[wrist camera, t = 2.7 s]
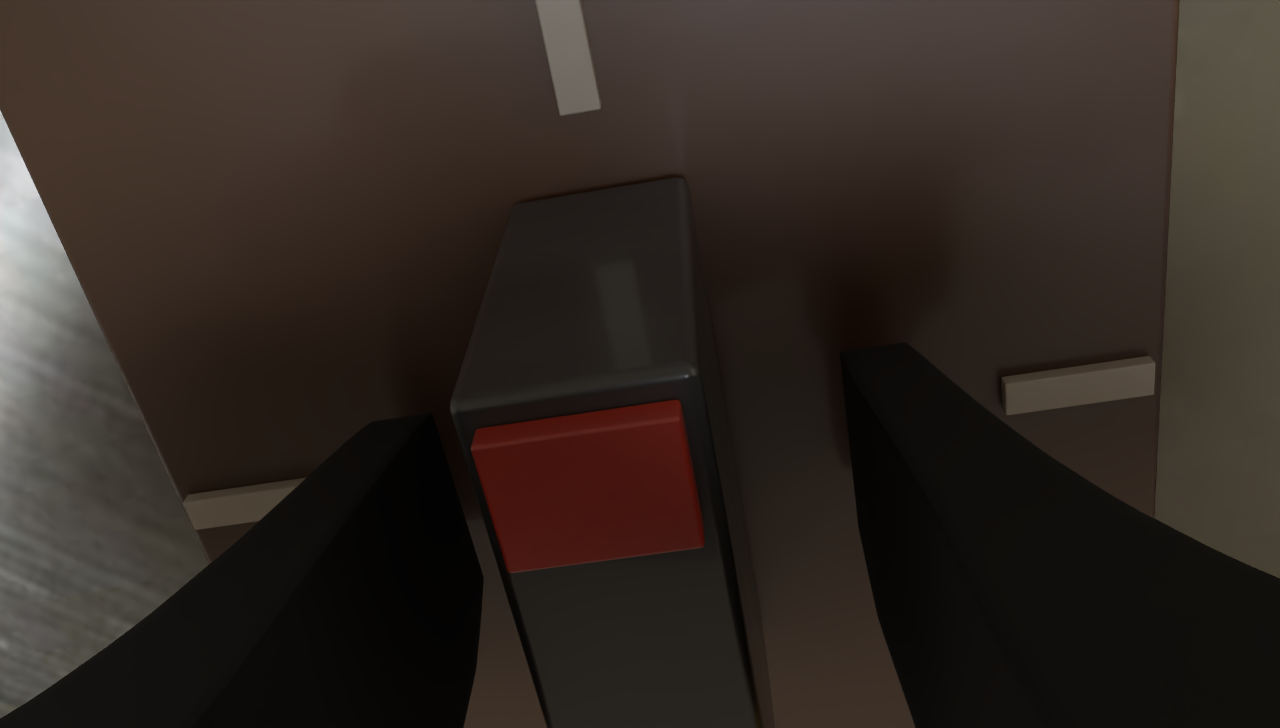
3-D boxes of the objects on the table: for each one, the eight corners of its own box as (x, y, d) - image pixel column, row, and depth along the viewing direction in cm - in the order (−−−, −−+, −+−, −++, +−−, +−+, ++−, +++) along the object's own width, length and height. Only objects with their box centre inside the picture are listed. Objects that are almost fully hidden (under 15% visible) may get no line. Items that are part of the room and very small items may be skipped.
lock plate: (1065, 625, 16) (1149, 806, 13) (398, 707, 17) (348, 891, 14) (1068, -338, 11) (1212, -366, 8) (72, -133, 12) (-113, -93, 9)
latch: (764, 640, 12) (802, 960, 9) (623, 659, 13) (611, 979, 9) (686, 172, 10) (699, 386, 7) (509, 201, 10) (436, 424, 7)
